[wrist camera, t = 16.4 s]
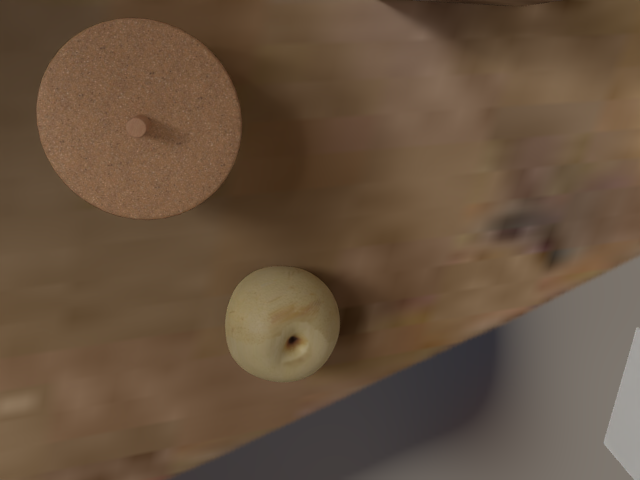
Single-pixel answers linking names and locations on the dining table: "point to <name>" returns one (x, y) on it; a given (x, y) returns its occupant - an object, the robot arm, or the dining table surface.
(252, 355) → the apple
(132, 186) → the lidded jar
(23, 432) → the dining table surface
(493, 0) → the walnut crate
